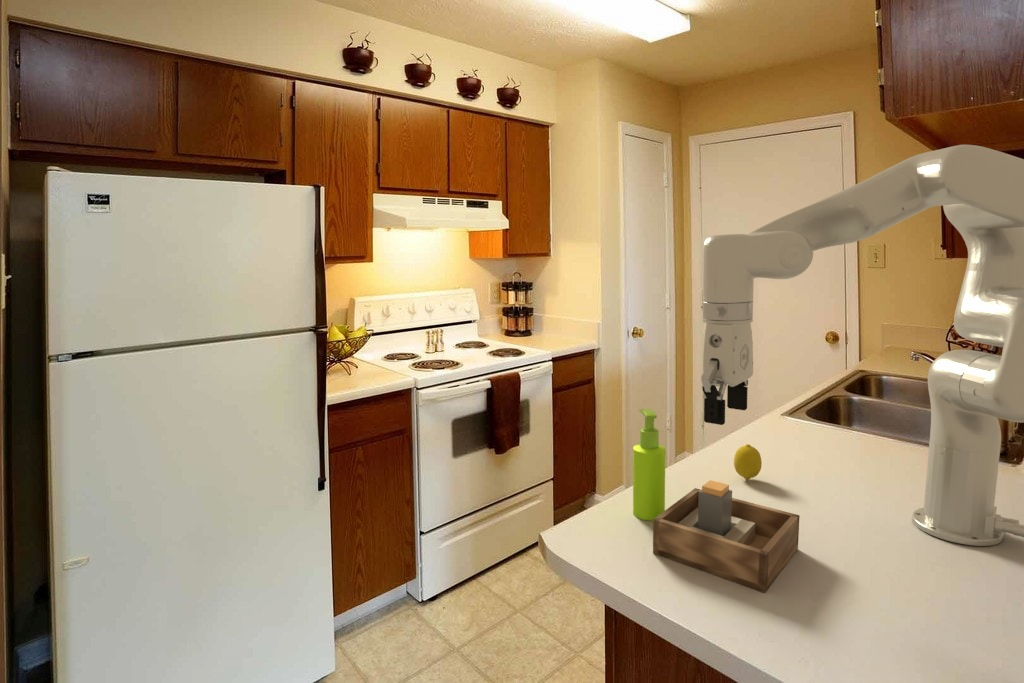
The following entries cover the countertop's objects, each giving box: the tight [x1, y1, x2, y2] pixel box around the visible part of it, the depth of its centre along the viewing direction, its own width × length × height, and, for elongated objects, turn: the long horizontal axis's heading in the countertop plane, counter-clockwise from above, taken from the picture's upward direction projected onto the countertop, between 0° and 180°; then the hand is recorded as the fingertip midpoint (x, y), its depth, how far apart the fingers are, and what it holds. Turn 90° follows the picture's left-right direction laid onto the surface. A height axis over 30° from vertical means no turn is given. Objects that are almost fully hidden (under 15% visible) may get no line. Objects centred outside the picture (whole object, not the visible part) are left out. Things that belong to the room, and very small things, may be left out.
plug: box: [698, 479, 733, 536], centre depth 96 cm, size 4×4×10 cm
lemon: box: [733, 443, 763, 481], centre depth 124 cm, size 6×6×8 cm
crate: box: [652, 487, 801, 594], centre depth 95 cm, size 18×16×6 cm
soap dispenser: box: [632, 408, 666, 522], centre depth 109 cm, size 6×7×20 cm
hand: (726, 415), depth 95 cm, fingers open, 9 cm apart
